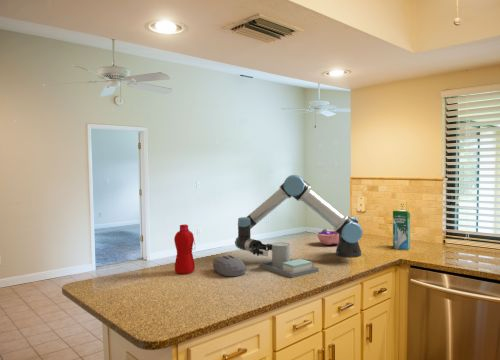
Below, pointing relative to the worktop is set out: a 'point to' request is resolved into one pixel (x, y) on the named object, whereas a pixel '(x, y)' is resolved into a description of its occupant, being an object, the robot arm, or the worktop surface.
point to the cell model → (328, 237)
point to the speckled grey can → (280, 254)
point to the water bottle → (184, 251)
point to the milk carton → (401, 229)
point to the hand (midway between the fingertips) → (277, 252)
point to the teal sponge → (296, 265)
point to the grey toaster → (229, 266)
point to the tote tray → (280, 271)
